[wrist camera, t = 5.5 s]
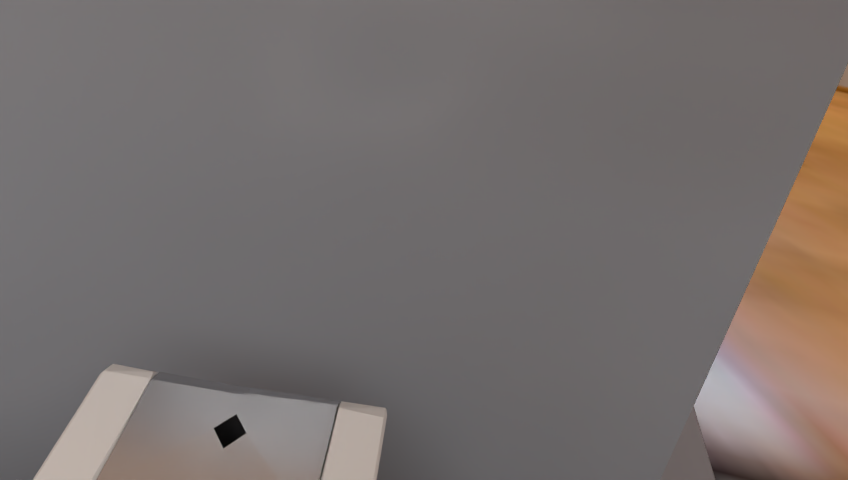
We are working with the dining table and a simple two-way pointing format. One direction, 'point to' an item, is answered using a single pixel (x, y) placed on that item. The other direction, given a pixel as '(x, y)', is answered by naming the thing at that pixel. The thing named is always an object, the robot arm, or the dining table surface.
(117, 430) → the robot arm
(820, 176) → the dining table surface
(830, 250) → the dining table surface
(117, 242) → the glazed tile
